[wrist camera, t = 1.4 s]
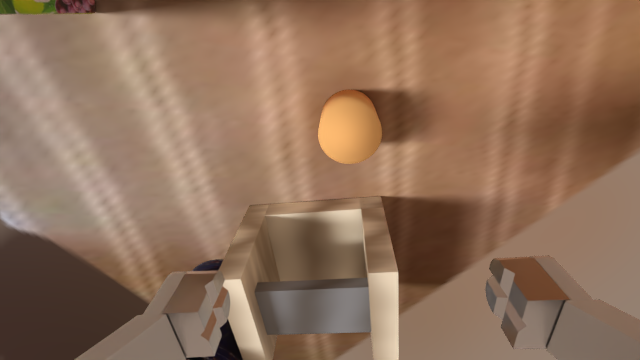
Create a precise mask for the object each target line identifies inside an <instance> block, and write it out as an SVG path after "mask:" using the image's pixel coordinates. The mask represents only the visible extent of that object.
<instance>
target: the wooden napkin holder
mask: <svg viewBox="0 0 640 360" xmlns="http://www.w3.org/2000/svg"><path fill="white" fill-rule="evenodd" d="M218 271H221V272H222V273H223V276H224V279H225V281H224V283H223V287H224V288H226V289H227V290H228V292H229V296H230V311H229V316H228V320H229V323H230V326H231V329H232V331H233V334H234V337H235V339H236V342H237V345H238V347H239V350H240V353H241V355H242V358H243V360H273V355H274V350H275V345H276V339H277V335H280V334H317V333H354V332H371V342H372V352H373V360H399V357H398V356H399V355H398V351H399V350H398V349H399V348H398V347H399V346H398V268H397V264H396V260H395V255H394V251H393V247H392V242H391V238H390V234H389V229H388V225H387V221H386V217H385V212H384V208H383V204H382V199H381V196H376V197H362V198H348V199H334V200H321V201H307V202H293V203H279V204H265V205H251V206H249V208H248V210H247V212H246V214H245V216H244V218H243V220H242V222H241V224H240V227H239V229H238V231H237V233H236V235H235V237H234V239H233V241H232V243H231V245H230V247H229V249H228V252H227V254H226V256H225V258H224V260H223V262H222V264H221V266H220V268H219V270H218Z"/></svg>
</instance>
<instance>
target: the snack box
mask: <svg viewBox="0 0 640 360" xmlns="http://www.w3.org/2000/svg"><path fill="white" fill-rule="evenodd" d="M95 12H96V10H95V0H0V15H24V14H92V13H95Z"/></svg>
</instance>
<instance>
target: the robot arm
mask: <svg viewBox="0 0 640 360" xmlns="http://www.w3.org/2000/svg"><path fill="white" fill-rule="evenodd" d="M489 269H490V271H491V272H492V274H493V275H492V276H491V277H490V278H489V279H488V280H487V283H486V297H487V301H488V304H489V306H490V308H491V310H492V312H493V313H494V314H495V315H496V316H498V317H500V318H501V319H502V320H503V321H502V325H501V328H502V330H503V331H504V333H505V335H506V336H507V338H508V340H509V342H510V344H511V346H512V347H513V349H547V351H548V352H549V353H550V354H551V355H553V356H554V357H555V358H556V359H558V360H640V320H639V319H637V318H635V317H633V316H631V315H629V314H627V313H625V312H623V311H621V310H619V309H617V308H615V307H613V306H611V305H609V304H607V303H606V302H604V301H602V300H600V299H598V300H593V299H592V298H591V297H590V296H589V295H588V294H587V293H586V291H585V290H584V289H583V288H582V287H581V286H580V285H579V284H578V283H577V282H576V281H575V280H574V279H573V278H572V277H571V276H570V275H569V274H568V273H567V271H566V270H565V269H564V268H563V267H562V266H561V265H560V264H559V263H558V262H557V261H556V260H555V259H554V258H553V257H551V256H549V255H548V256H531V257H515V258H495V259H493V260H492V261H491V264H490V268H489ZM224 281H225V279H224V276H223V273H222V272H221V271H188V272H172V273H171V274H169V275H168V277H167V278H166V280H165V281H164V283H163V284H162V286H161V287H160V289H159V291H158V292H157V294H156V295H155V297H154V298H153V300H152V301H151V303H150V304H149V306H148V308H147V309H146V311H145V312H144V314H143V315H137V316H136V317H135V318H133V319H132V320H130V321H129V322H128V323H126V324H125V325H123V326H122V327H121V328H119V329H118V330H116V331H115V332H113V333H112V334H110V335H109V336H108V337H106V338H105V339H103V340H102V341H100V342H99V343H98V344H96V345H95V346H93V347H92V348H91V349H89V350H88V351H86V352H85V353H83V354H82V355H81V356H79V357H78V358H76V359H75V360H186V358H190V357H208V356H215V353H216V350H217V348H218V345H219V342H220V339H221V336H222V334H221V331H220V327H221V326H223V325H224V324H225V323H226V322H227V319H228V316H229V311H230V296H229V292H228V290H227V289H226V288H224V287H223V283H224Z"/></svg>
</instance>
